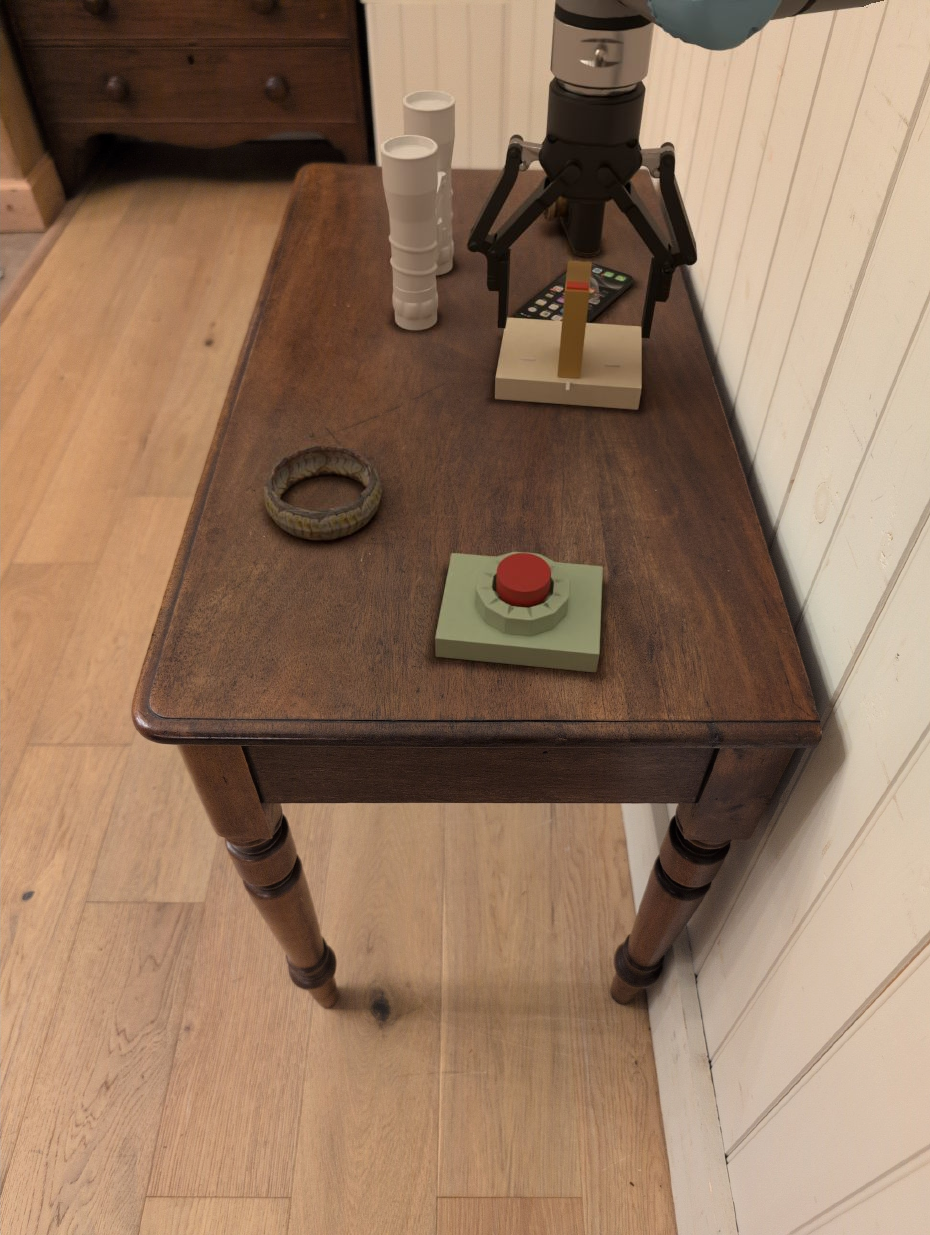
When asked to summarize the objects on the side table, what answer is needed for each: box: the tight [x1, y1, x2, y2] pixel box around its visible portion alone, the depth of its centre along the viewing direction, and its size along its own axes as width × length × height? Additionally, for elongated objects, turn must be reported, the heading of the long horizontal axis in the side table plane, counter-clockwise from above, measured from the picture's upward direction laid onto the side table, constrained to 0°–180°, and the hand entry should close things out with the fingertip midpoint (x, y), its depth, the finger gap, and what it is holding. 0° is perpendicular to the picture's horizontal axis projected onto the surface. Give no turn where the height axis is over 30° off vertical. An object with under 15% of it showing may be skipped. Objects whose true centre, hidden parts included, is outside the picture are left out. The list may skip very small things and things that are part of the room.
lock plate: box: [494, 317, 643, 411], centre depth 92 cm, size 14×12×3 cm
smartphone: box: [514, 260, 634, 323], centre depth 102 cm, size 7×1×15 cm
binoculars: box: [379, 89, 456, 331], centre depth 97 cm, size 17×5×18 cm, turn 172°
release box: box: [434, 551, 604, 673], centre depth 70 cm, size 12×9×4 cm
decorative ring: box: [263, 444, 383, 541], centre depth 79 cm, size 10×3×10 cm
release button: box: [496, 552, 551, 607], centre depth 68 cm, size 4×4×2 cm
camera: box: [542, 196, 606, 258], centre depth 112 cm, size 16×7×8 cm, turn 7°
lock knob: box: [557, 260, 593, 378], centre depth 87 cm, size 6×2×9 cm, turn 173°
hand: (573, 326), depth 87 cm, fingers open, 13 cm apart
